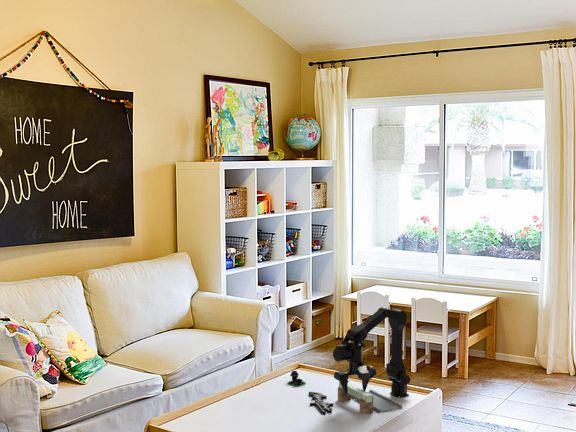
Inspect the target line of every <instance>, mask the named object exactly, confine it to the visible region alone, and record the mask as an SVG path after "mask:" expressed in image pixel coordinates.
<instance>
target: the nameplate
mask: <svg viewBox="0 0 576 432" xmlns="http://www.w3.org/2000/svg"><path fill="white" fill-rule="evenodd" d="M308 396H309V397H310V398H311V400H312V401H314V402H310V403H309V407H312V406H313V407H316V408H317V410H318V411H319V413H321V414H322V416H323V415H324V416H325V415H327V413H328V414H332V413H333V408H332V407H334V403H332V402H325V401H324V400H326V399H327V398H328V397H327V395H324V394H322V393H320V392H317V391H308Z"/></svg>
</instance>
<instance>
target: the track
mask: <svg viewBox="0 0 576 432" xmlns="http://www.w3.org/2000/svg"><path fill="white" fill-rule="evenodd" d="M366 392H367V393H369V394H371V395H372V396H373V411H375V412H377V413H379V414H380V413H386V412H390V411H395V410H400V409H403V404H401V403H399V402H397V401H395V400H394V399H391V398H389V397H387V396H385V395H383V394H381V393H380V392H378V391H375V390H374V389H372V388H371V389H369V391H366ZM351 399H354V401H357V402H358V403H360V399H358V398H356V397H354V396H352V395H351Z"/></svg>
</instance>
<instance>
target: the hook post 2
mask: <svg viewBox="0 0 576 432" xmlns="http://www.w3.org/2000/svg"><path fill="white" fill-rule="evenodd" d="M359 413H360V414H362V415H367V414H373V413H374V410H373V396H372V402H369V403H365V401H364V400H362V399H360V402H359Z"/></svg>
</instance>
